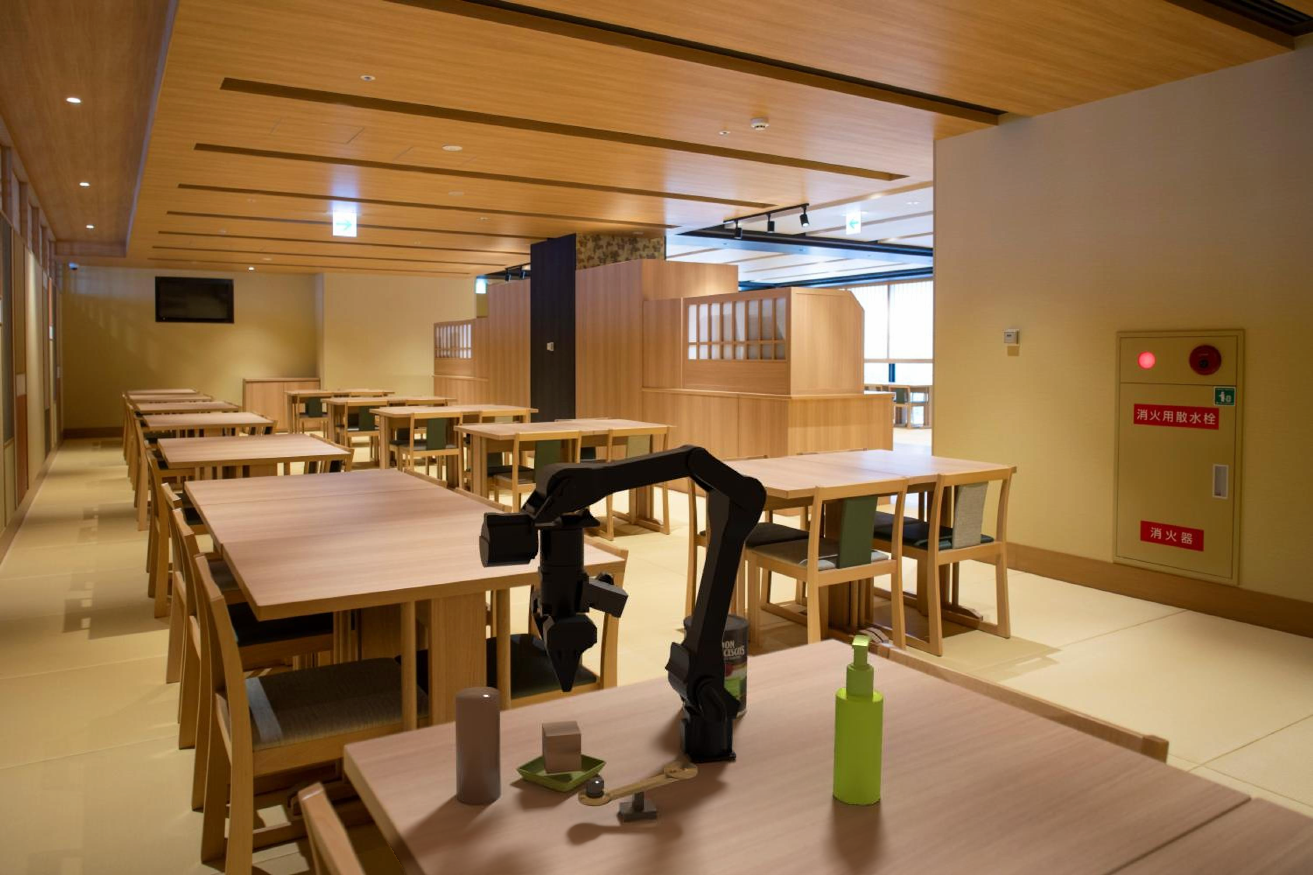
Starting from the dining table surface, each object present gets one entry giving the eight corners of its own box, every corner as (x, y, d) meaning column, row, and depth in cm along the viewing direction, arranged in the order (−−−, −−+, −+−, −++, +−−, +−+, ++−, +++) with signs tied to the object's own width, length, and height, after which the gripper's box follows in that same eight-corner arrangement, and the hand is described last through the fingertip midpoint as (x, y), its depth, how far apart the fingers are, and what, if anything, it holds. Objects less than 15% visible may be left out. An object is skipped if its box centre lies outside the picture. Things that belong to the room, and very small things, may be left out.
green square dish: (514, 783, 124) (514, 767, 124) (557, 760, 131) (557, 745, 131) (566, 800, 119) (566, 784, 119) (608, 776, 126) (608, 760, 126)
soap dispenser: (883, 784, 123) (888, 634, 122) (877, 808, 117) (882, 649, 115) (837, 777, 125) (841, 629, 124) (829, 800, 119) (833, 644, 117)
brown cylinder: (498, 782, 123) (498, 684, 122) (502, 802, 118) (501, 699, 116) (455, 787, 122) (454, 688, 120) (457, 806, 116) (455, 703, 115)
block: (542, 759, 126) (542, 723, 126) (575, 756, 127) (575, 720, 127) (546, 774, 122) (546, 736, 122) (581, 770, 123) (581, 733, 123)
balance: (691, 800, 119) (692, 759, 118) (700, 815, 115) (701, 773, 114) (575, 812, 115) (575, 770, 115) (580, 828, 111) (581, 785, 111)
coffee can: (757, 716, 147) (759, 627, 145) (694, 723, 144) (695, 632, 142) (733, 694, 156) (735, 610, 155) (673, 699, 153) (674, 614, 152)
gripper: (638, 575, 116) (637, 700, 117) (609, 545, 134) (608, 653, 135) (547, 579, 113) (547, 707, 114) (530, 548, 131) (530, 659, 132)
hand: (561, 679), depth 124 cm, fingers open, 9 cm apart
